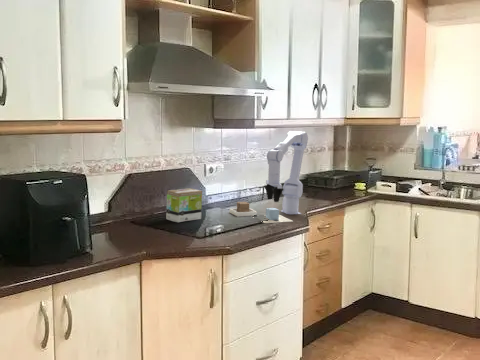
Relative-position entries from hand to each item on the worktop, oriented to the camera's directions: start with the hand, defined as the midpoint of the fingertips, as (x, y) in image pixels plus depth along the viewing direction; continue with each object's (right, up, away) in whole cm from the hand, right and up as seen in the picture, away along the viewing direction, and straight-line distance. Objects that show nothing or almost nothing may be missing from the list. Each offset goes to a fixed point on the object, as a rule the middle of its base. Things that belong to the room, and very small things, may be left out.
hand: (273, 200), depth 286 cm
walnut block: (-15, -8, +11) cm, 20 cm away
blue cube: (0, -9, +1) cm, 9 cm away
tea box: (-45, -10, -4) cm, 46 cm away
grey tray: (-15, -8, +11) cm, 21 cm away
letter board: (0, -10, +1) cm, 10 cm away
